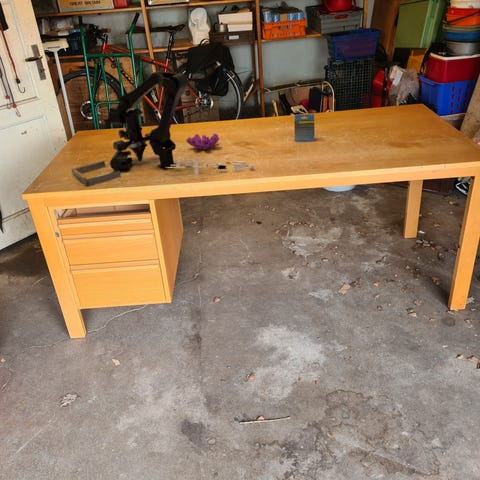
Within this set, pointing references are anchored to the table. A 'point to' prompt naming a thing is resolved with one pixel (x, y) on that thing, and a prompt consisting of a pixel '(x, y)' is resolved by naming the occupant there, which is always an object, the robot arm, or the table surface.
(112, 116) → the robot arm
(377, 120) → the table surface
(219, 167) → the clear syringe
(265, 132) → the table surface
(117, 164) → the end cap
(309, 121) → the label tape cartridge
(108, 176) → the frame
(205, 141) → the purple flower bowl
